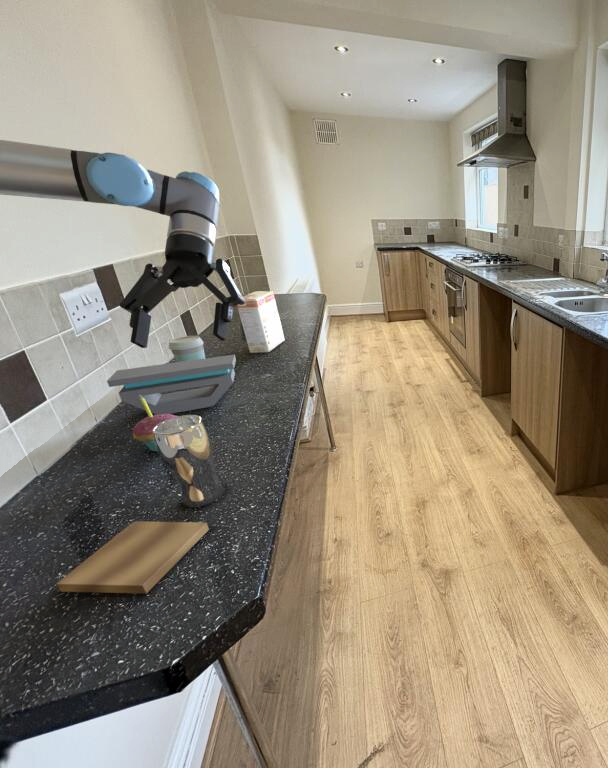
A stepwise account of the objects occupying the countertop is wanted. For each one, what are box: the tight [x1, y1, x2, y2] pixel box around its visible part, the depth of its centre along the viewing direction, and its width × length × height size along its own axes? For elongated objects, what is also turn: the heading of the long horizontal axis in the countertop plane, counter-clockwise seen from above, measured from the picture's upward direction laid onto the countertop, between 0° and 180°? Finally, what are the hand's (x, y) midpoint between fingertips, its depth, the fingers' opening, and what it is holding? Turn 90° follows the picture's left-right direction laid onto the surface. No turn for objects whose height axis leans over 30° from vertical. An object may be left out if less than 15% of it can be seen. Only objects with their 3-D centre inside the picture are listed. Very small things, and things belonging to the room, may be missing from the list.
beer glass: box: [152, 414, 225, 509], centre depth 71 cm, size 7×7×15 cm
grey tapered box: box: [106, 354, 237, 415], centre depth 106 cm, size 25×8×11 cm, turn 118°
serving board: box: [56, 520, 210, 594], centre depth 61 cm, size 12×12×2 cm
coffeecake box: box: [236, 290, 286, 354], centre depth 151 cm, size 15×7×20 cm, turn 6°
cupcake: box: [131, 395, 178, 452], centre depth 88 cm, size 9×8×12 cm
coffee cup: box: [168, 335, 206, 362], centre depth 125 cm, size 9×8×12 cm
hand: (179, 341), depth 74 cm, fingers open, 13 cm apart
